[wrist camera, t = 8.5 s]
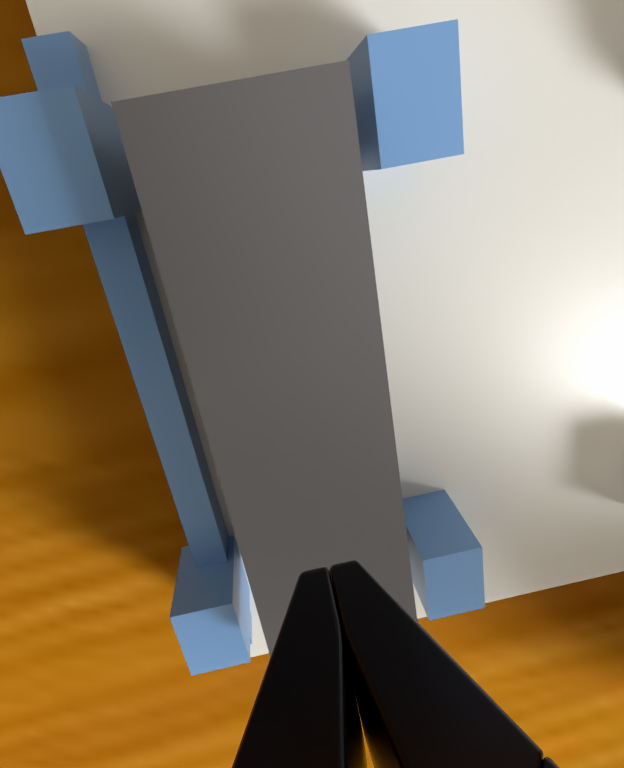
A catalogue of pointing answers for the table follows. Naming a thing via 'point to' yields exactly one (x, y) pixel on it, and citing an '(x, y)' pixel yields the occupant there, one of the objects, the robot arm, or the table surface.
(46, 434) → the table surface
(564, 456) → the board
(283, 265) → the long grey block
